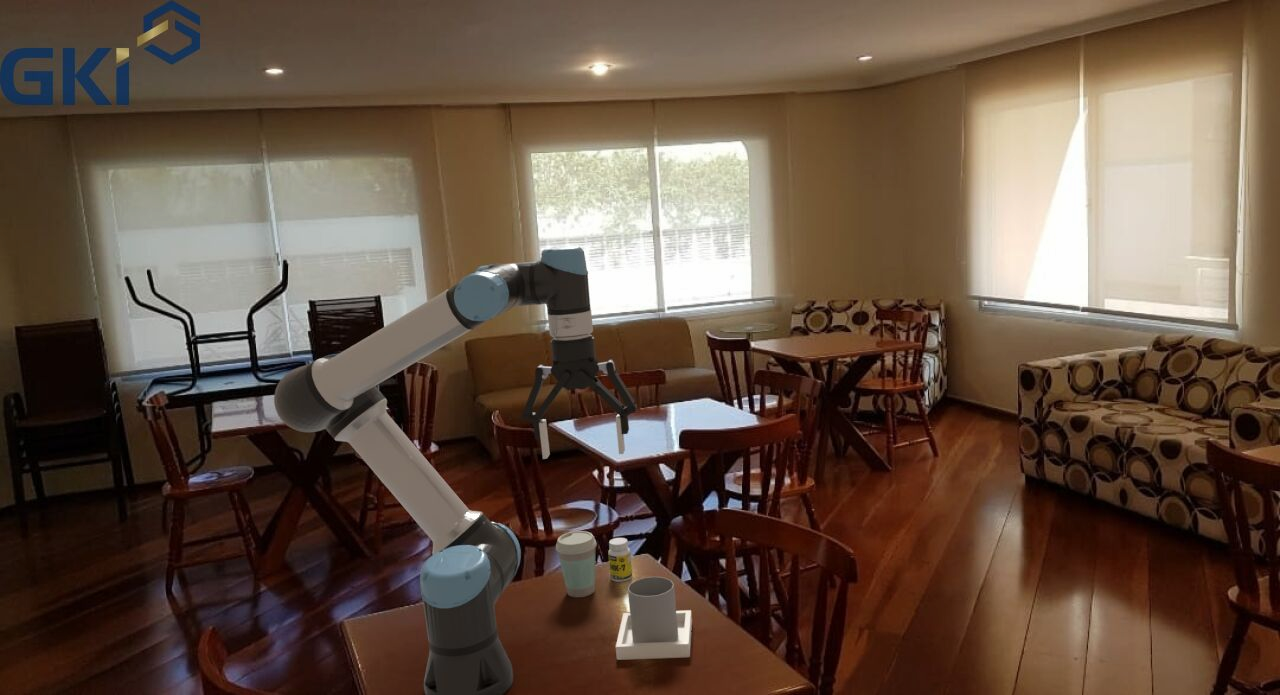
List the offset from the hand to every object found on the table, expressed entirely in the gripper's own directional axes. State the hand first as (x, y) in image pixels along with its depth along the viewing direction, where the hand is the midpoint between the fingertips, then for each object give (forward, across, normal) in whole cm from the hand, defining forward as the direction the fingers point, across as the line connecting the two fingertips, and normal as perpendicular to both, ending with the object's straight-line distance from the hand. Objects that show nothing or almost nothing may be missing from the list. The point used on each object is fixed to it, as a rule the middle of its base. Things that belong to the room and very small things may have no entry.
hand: (584, 454), depth 160 cm
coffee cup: (+37, -8, +24) cm, 45 cm away
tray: (+37, +10, +2) cm, 38 cm away
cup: (+36, +10, +2) cm, 38 cm away
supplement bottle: (+37, 0, +30) cm, 48 cm away
